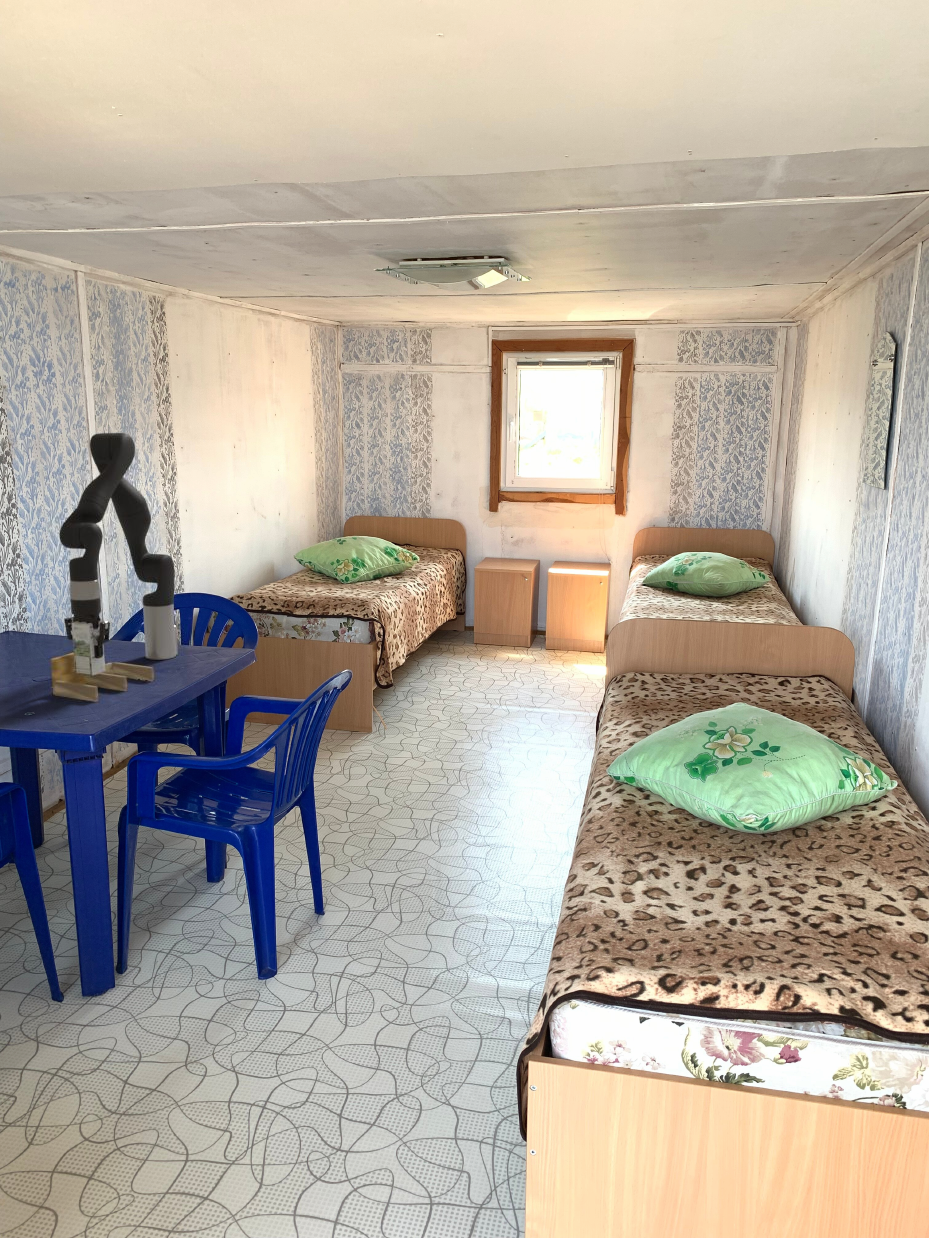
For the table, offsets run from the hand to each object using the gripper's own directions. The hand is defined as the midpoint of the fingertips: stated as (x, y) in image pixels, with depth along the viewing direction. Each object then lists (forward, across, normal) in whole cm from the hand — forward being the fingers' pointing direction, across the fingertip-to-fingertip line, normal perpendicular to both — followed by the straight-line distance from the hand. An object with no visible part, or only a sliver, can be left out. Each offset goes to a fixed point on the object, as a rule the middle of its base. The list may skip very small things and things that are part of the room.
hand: (89, 656), depth 243 cm
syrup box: (+5, 0, 0) cm, 5 cm away
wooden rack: (+10, 0, -6) cm, 12 cm away
